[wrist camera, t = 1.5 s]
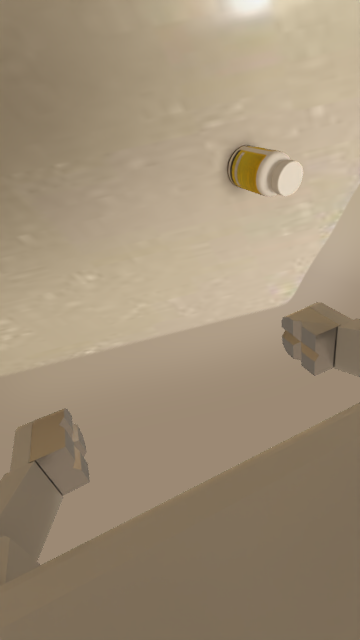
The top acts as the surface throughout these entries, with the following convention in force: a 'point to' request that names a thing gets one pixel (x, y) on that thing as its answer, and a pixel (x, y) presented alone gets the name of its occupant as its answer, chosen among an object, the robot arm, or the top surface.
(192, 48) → the top surface
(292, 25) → the top surface
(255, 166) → the supplement bottle
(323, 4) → the top surface
